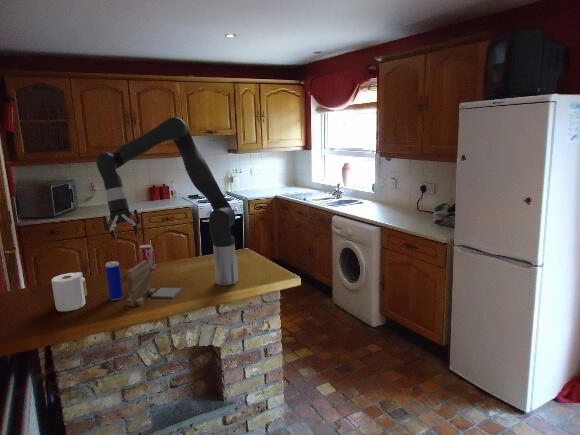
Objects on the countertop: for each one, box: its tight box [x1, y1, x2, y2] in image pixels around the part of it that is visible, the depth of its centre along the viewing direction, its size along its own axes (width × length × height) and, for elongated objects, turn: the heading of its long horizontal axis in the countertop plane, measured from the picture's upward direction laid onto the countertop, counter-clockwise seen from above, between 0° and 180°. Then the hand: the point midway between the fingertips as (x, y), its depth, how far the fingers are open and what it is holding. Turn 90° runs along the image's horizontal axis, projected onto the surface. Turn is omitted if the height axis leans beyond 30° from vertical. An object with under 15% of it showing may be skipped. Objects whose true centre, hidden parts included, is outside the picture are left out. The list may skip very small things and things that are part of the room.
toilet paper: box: [50, 272, 87, 312], centre depth 166 cm, size 10×10×12 cm
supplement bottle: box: [76, 271, 88, 297], centre depth 176 cm, size 5×5×10 cm
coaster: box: [151, 287, 182, 299], centre depth 176 cm, size 9×9×1 cm
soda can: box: [138, 243, 156, 272], centre depth 206 cm, size 7×7×12 cm
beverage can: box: [105, 260, 124, 301], centre depth 172 cm, size 5×5×15 cm
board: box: [125, 260, 157, 307], centre depth 170 cm, size 6×14×14 cm, turn 171°
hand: (125, 237), depth 178 cm, fingers open, 8 cm apart
